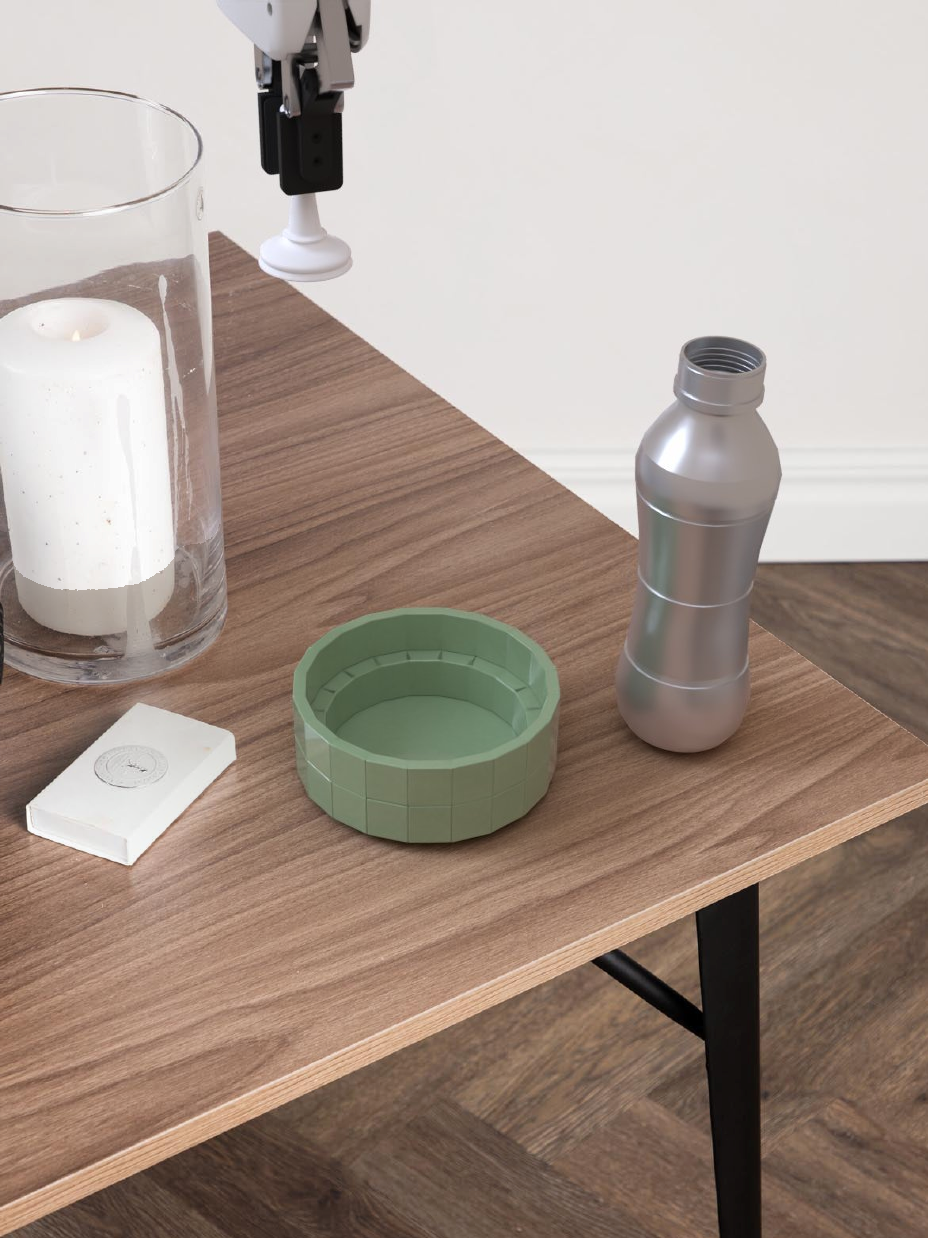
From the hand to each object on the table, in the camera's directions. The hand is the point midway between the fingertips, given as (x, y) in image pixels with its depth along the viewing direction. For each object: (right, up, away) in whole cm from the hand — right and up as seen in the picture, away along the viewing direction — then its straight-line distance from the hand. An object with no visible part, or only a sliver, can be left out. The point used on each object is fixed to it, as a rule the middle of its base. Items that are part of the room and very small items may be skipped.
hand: (302, 177), depth 87 cm
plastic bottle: (+19, -28, -2) cm, 34 cm away
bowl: (+7, -30, -6) cm, 31 cm away
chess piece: (0, -4, +3) cm, 5 cm away
